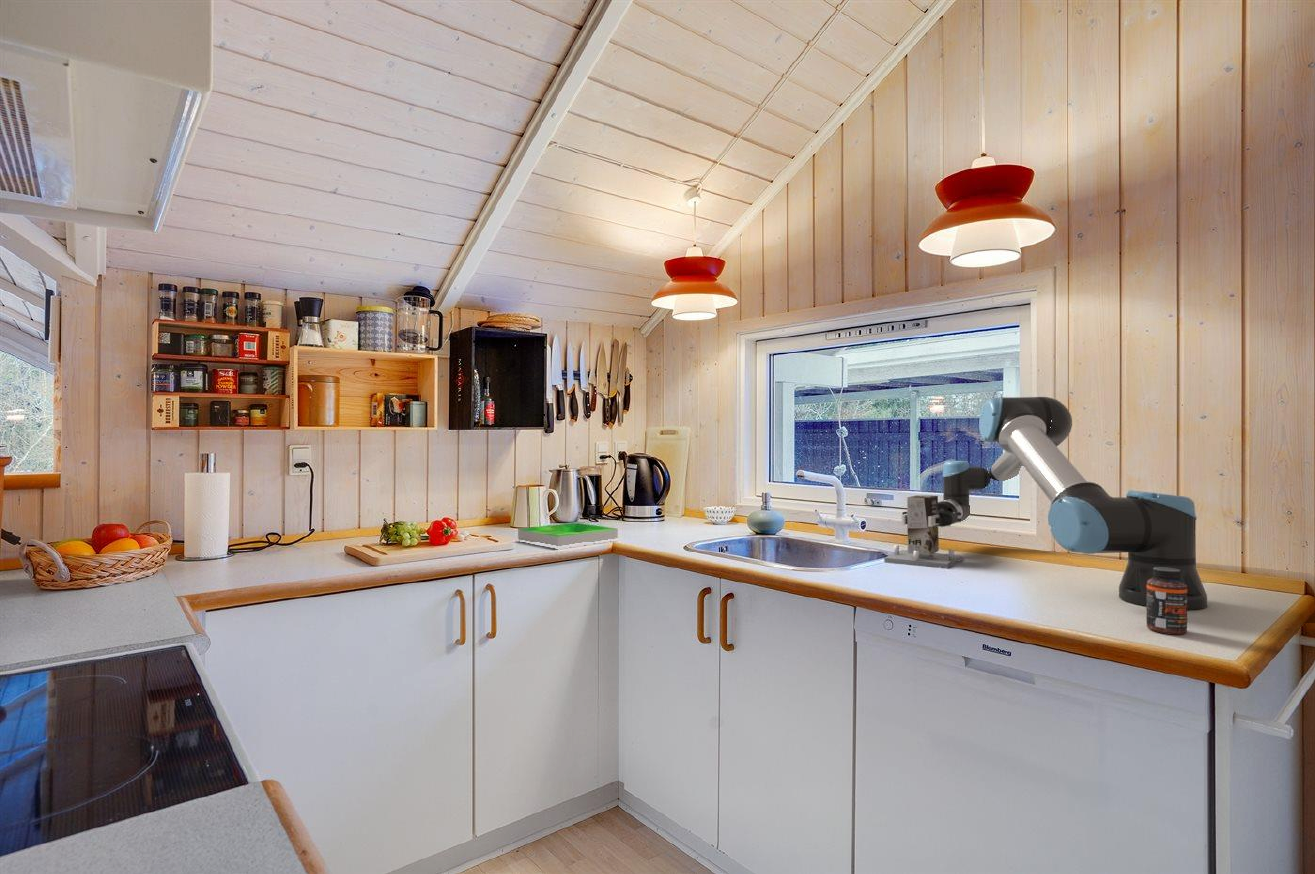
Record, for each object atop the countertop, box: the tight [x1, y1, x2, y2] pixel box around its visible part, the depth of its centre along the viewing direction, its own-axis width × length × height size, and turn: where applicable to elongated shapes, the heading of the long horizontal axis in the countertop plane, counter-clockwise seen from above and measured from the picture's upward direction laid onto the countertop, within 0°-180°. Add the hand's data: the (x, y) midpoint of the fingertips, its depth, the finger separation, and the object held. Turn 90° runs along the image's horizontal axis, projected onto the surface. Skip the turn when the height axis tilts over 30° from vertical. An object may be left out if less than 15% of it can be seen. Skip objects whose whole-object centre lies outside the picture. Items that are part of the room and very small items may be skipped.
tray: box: [517, 522, 619, 546], centre depth 240 cm, size 25×25×5 cm
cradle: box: [884, 544, 963, 569], centre depth 195 cm, size 16×17×4 cm
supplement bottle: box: [1146, 567, 1189, 636], centre depth 124 cm, size 6×6×11 cm
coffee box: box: [906, 494, 940, 555], centre depth 195 cm, size 9×6×16 cm
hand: (916, 520), depth 191 cm, fingers open, 7 cm apart
